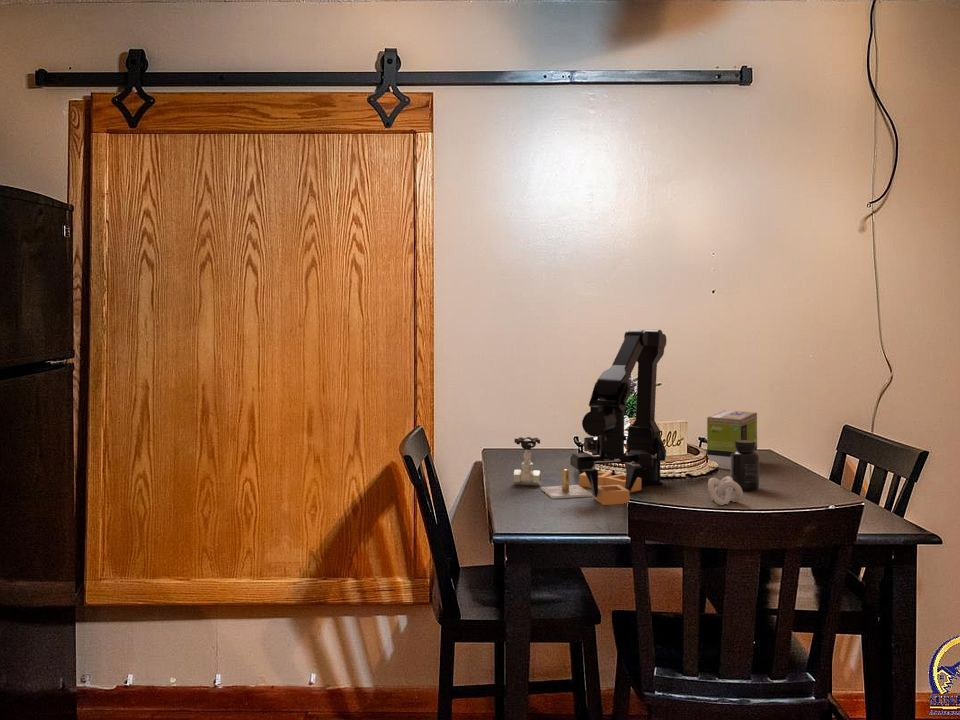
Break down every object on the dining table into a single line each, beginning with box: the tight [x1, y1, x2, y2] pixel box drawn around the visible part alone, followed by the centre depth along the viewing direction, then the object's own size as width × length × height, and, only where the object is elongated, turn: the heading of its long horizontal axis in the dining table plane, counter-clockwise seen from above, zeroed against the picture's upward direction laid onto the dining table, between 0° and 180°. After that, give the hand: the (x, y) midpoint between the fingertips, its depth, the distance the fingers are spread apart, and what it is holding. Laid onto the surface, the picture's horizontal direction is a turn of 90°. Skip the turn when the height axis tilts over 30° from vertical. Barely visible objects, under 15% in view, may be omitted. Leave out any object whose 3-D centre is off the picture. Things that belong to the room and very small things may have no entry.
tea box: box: [706, 410, 758, 471], centre depth 230 cm, size 15×10×15 cm, turn 144°
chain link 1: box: [578, 470, 613, 489], centre depth 206 cm, size 6×6×3 cm
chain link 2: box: [605, 473, 642, 493], centre depth 201 cm, size 6×6×3 cm
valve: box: [513, 436, 542, 487], centre depth 206 cm, size 7×7×12 cm
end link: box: [593, 485, 631, 506], centre depth 190 cm, size 6×6×3 cm
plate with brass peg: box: [539, 468, 593, 500], centre depth 198 cm, size 10×10×6 cm
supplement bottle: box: [730, 440, 760, 492], centre depth 201 cm, size 7×7×12 cm
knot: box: [707, 475, 744, 505], centre depth 188 cm, size 8×8×6 cm
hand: (611, 495), depth 190 cm, fingers open, 8 cm apart
